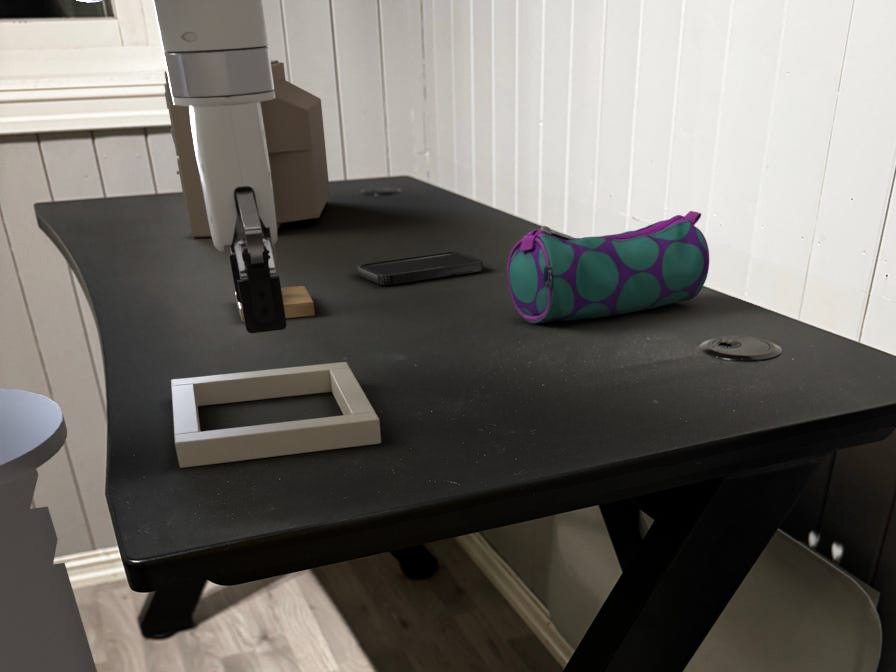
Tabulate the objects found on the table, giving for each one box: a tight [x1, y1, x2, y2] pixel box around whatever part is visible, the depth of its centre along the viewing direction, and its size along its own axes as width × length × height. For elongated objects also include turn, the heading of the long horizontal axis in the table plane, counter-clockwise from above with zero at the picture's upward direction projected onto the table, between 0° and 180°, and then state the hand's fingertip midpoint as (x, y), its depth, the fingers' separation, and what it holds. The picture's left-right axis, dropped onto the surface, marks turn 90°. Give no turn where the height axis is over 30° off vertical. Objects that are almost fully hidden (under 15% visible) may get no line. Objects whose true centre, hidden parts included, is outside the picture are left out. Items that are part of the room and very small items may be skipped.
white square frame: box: [170, 361, 382, 469], centre depth 76 cm, size 15×15×2 cm
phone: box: [357, 251, 484, 286], centre depth 120 cm, size 8×1×15 cm
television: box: [163, 59, 331, 238], centre depth 147 cm, size 36×20×40 cm, turn 3°
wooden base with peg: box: [234, 233, 316, 323], centre depth 103 cm, size 8×8×14 cm
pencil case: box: [506, 210, 710, 324], centre depth 101 cm, size 21×9×10 cm, turn 115°
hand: (261, 314), depth 79 cm, fingers open, 9 cm apart
